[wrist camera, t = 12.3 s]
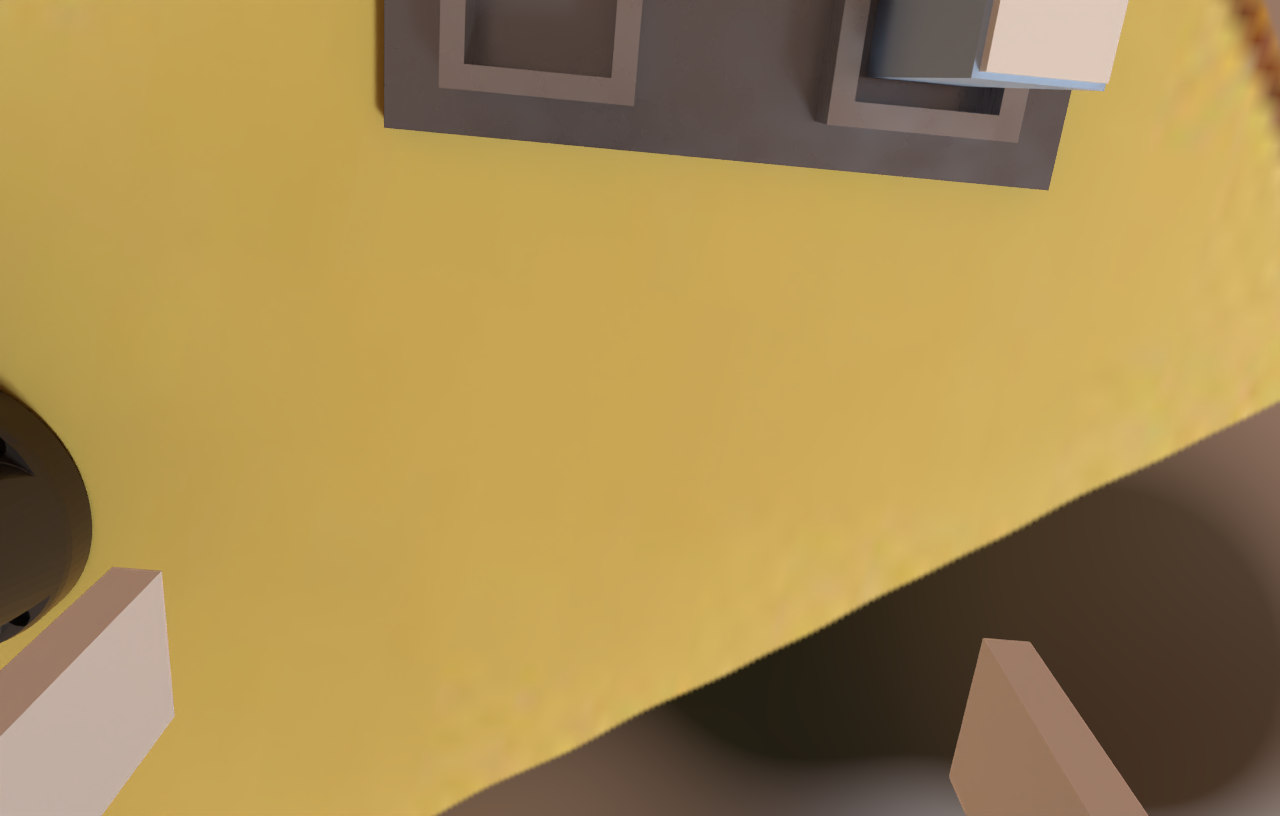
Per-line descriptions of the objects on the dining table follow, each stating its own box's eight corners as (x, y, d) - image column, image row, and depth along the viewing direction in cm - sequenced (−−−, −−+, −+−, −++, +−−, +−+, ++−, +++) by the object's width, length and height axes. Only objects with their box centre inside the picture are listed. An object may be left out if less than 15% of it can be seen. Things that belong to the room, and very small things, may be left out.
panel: (389, 126, 43) (365, 131, 39) (390, -176, 39) (363, -203, 35) (1039, 187, 44) (1077, 198, 40) (1105, -102, 40) (1153, -121, 36)
